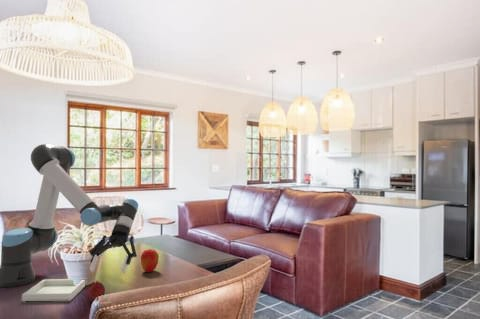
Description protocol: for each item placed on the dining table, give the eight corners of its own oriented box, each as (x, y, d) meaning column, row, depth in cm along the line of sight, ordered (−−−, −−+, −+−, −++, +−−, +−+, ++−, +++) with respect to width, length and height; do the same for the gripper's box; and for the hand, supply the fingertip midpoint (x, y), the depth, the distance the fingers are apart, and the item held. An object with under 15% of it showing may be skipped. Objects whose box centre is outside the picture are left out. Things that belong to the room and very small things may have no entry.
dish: (21, 302, 129) (21, 294, 129) (43, 286, 147) (43, 279, 147) (70, 301, 131) (70, 293, 131) (85, 285, 149) (86, 278, 149)
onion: (106, 297, 135) (107, 278, 135) (101, 303, 129) (102, 282, 130) (92, 297, 135) (93, 277, 135) (86, 303, 129) (87, 282, 129)
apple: (153, 274, 166) (153, 250, 167) (136, 273, 168) (137, 249, 168) (161, 269, 175) (161, 246, 176) (145, 268, 177) (146, 245, 178)
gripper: (150, 233, 155) (138, 275, 140) (98, 232, 156) (81, 274, 141) (147, 224, 150) (134, 266, 135) (93, 222, 151) (74, 265, 136)
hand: (107, 270), depth 138 cm, fingers open, 13 cm apart
